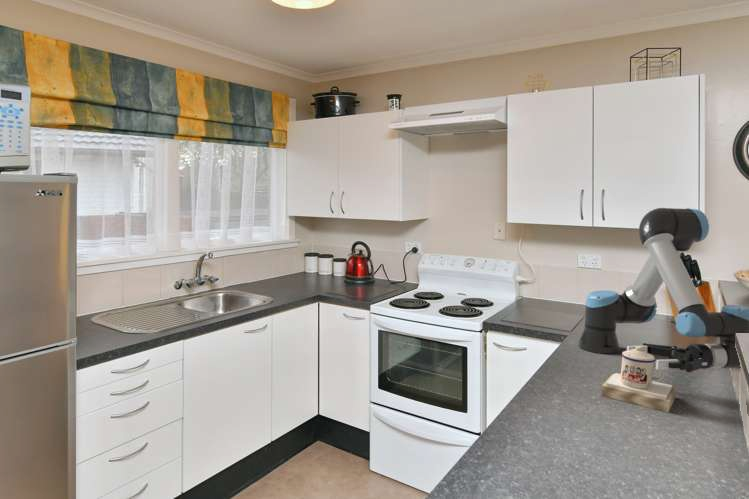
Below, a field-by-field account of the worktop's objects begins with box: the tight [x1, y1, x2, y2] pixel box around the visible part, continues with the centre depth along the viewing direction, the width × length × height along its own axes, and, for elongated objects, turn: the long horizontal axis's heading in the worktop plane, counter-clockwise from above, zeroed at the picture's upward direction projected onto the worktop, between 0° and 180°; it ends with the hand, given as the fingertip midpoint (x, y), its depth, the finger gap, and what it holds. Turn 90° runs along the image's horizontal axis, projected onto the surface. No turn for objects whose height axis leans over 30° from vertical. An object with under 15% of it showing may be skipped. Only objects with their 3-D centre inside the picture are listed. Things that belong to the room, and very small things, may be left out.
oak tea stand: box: [600, 372, 677, 413], centre depth 152 cm, size 18×14×4 cm
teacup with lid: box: [620, 345, 666, 389], centre depth 150 cm, size 12×9×12 cm
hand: (641, 357), depth 151 cm, fingers open, 13 cm apart
